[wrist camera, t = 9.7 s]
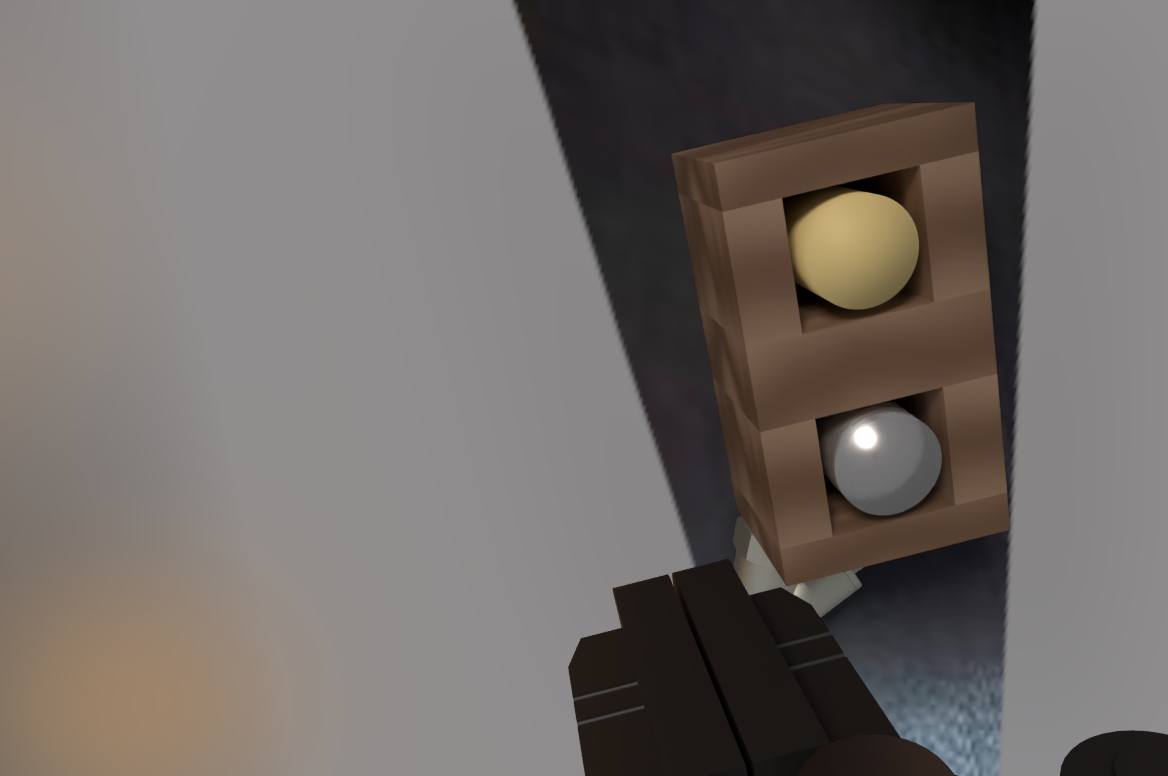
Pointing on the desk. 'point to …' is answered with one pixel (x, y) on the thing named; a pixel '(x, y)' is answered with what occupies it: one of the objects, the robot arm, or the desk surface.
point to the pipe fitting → (764, 576)
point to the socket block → (848, 331)
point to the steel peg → (879, 457)
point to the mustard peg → (850, 245)
